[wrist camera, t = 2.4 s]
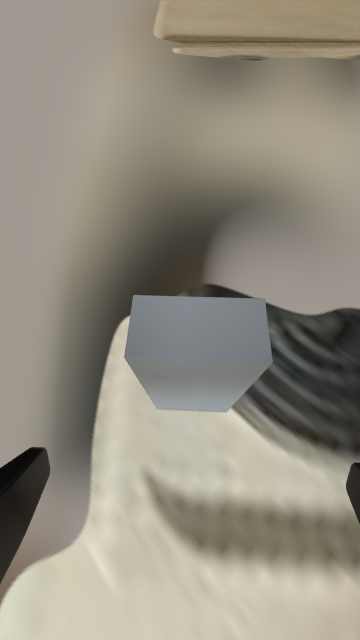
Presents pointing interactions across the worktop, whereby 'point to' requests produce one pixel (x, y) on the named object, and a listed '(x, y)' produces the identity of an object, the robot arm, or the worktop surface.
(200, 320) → the grey rectangular block
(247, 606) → the worktop surface
